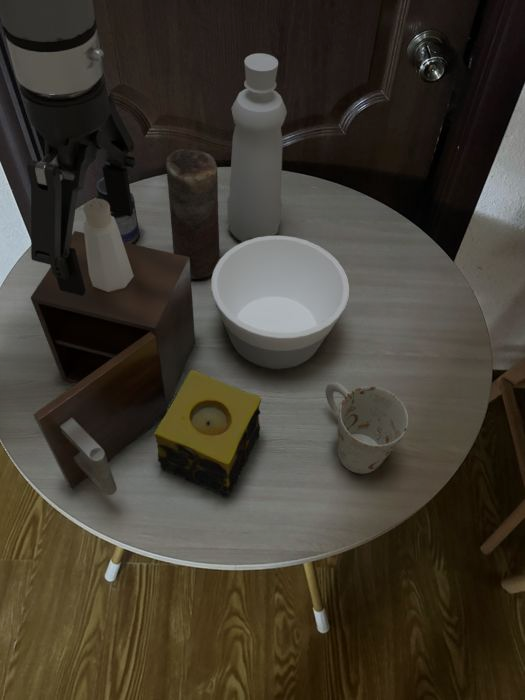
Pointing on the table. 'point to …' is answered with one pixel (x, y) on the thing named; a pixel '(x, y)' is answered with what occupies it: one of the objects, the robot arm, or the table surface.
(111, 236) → the salt shaker
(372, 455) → the mug
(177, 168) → the candle
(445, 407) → the table surface
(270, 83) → the bottle
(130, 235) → the pill bottle
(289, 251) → the bowl
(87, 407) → the door
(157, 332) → the cabinet
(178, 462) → the candle
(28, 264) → the table surface
